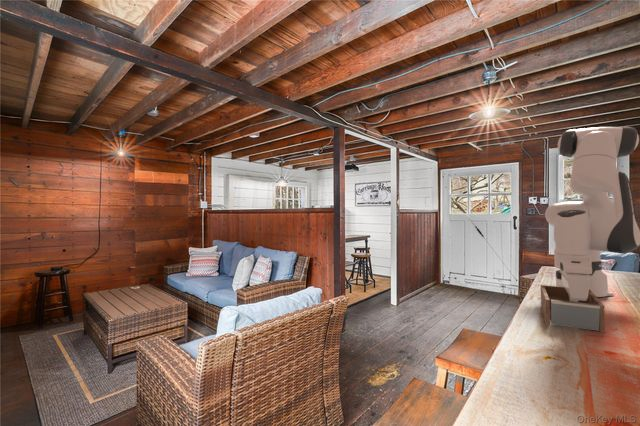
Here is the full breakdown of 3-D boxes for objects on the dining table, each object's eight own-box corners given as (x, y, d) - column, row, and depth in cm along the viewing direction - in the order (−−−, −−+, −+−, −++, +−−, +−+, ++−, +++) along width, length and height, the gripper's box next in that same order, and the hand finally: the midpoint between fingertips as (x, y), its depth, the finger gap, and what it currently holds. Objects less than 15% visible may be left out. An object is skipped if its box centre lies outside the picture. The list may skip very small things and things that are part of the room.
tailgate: (550, 322, 97) (550, 299, 96) (598, 328, 91) (598, 304, 90) (551, 324, 96) (551, 300, 95) (599, 330, 90) (599, 306, 89)
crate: (541, 306, 114) (540, 285, 114) (590, 311, 107) (589, 289, 107) (546, 324, 97) (545, 299, 97) (605, 332, 90) (604, 305, 90)
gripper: (555, 256, 104) (556, 296, 104) (564, 268, 87) (565, 315, 87) (579, 257, 101) (580, 299, 101) (593, 269, 84) (594, 319, 84)
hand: (573, 307), depth 94 cm, fingers closed
